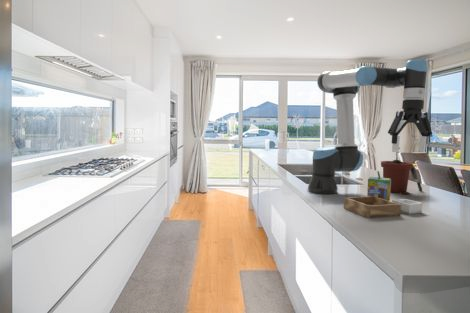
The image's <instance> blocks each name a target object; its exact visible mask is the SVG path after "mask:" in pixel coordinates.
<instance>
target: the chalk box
mask: <svg viewBox="0 0 470 313" xmlns="http://www.w3.org/2000/svg"><path fill="white" fill-rule="evenodd" d="M376 173H377V176H370V177H369V178H368V179H367V192H366V193H367V196H366V197H368V196H375V197H378V198H381V199H385V200H388V201H391V192H390V189H391V179H390V178H383V177H381V174H380V171H379V170H377V171H376Z"/></svg>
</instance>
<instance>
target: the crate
mask: <svg viewBox="0 0 470 313" xmlns="http://www.w3.org/2000/svg"><path fill="white" fill-rule="evenodd" d="M343 199H344V200H343V209H346V210H347V211H350V212H353V213H355V214H357V215H360V216H362V217H365V218H367V219H369V218H373V219H374V218H387V217H388V218H389V217H400V216H401V212H400V211H401V204H398V203H395V202H392V200H390V201H388V200H385V199H381V198H378V197H375V196H368V197H367V196H352V197H351V196H350V197H349V196H348V197H343Z"/></svg>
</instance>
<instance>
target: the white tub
mask: <svg viewBox="0 0 470 313" xmlns="http://www.w3.org/2000/svg"><path fill="white" fill-rule="evenodd" d="M391 202H395V203H398V204H401V211H400V213H403V214H405V215H413V214H422V213H423V202H421V201H420V202H419V201H416V200H412V199H407V198H401V199H400V198H399V199H393V200H391Z"/></svg>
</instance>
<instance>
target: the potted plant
mask: <svg viewBox="0 0 470 313" xmlns="http://www.w3.org/2000/svg"><path fill="white" fill-rule="evenodd" d="M400 149H401V147H399V150H400ZM398 153H400V152H395V154H396V156H395V158H396V159H394V160H381V161H380V168H382V178H390V179H391V189H390V194H391V193H393V194H400V195H403V196H408V195H410V192H408V184H409V177H410V173H411V177H412V179H413V180H414V181H415V182H416V185H417V188H418V191H419V192H422V191H423V188H422V185H421V182H420V181H419V179H420V177H419V174H418V170H417V169H416V168H417V167H415V166H414V163H412V162H409V161H401V160H400V159H398Z"/></svg>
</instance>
